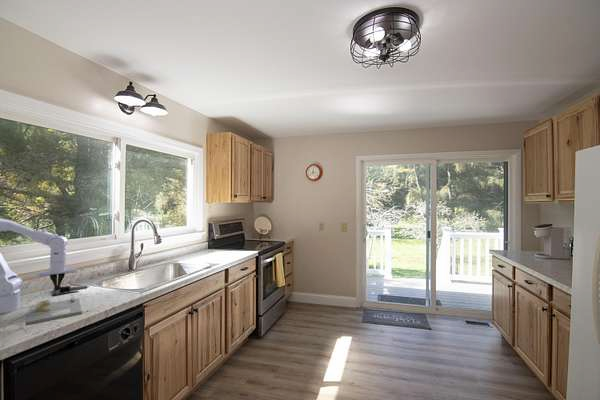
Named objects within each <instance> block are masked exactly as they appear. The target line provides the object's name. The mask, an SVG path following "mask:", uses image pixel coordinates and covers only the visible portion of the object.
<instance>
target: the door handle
mask: <svg viewBox="0 0 600 400" xmlns="http://www.w3.org/2000/svg"><path fill="white" fill-rule="evenodd" d="M52 289H53V291H52V294H50V295H51V297H58V296H64V295H71V294H76V293H79V292H80V291H79V290H84V289H85V290H86V289H88V285H81V286H70V285H68V286H67V285H66V286H61V285H60V287H59V290H55V286H54V287H53V288H52Z"/></svg>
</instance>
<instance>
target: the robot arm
mask: <svg viewBox="0 0 600 400" xmlns="http://www.w3.org/2000/svg"><path fill="white" fill-rule="evenodd" d="M3 231H5V232H6V231H10V232H14V233H17V234H20V235H22V236H27V237H30V239H31V241H33V242H36V243H39V244H42V245H45V246H48V247H49V249H50V253H49V256H50V257H49V270H46V271H45V270H44V271H38V272H37V271H36V272H37V273H36V278H40V277H49V279H50V280H51V281H52V283H53V286H54V287H55V290H59V287H60V286H61V284H62V282H63V279H64V278H65V276H66V274H77V273H78V268H76V267H75V268H74V267H73V268H66V263H67V260H66V259H67V245H68V243H69V240H68V238H67V237H66V236H64V235H59V234H57V233H52V232H50V231H47V229H45V228H43V229H41V228H40V229H37V230H36V229H33V228H30V227H27V226H25V225H24V224H23V225H22V224H20V223H18V222H15V221H13V220H10V219H8V218H7V219H6V218H4V217H0V233H2V232H3ZM23 285H24V280H23V278H21V277H20V276H18V275H17V273H16V272H14V271H12V269H11V268H10V267H9V265H8V263H7V261H6V260H5V258H4V256H3V255H2V252H1V251H0V315H1V314H7V313H11V312H15V311H18V310H19V309H20V308H21V289H20V288H22V286H23Z"/></svg>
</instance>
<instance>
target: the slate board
mask: <svg viewBox="0 0 600 400" xmlns="http://www.w3.org/2000/svg"><path fill="white" fill-rule="evenodd" d="M81 306H82V305H81V303H80V298H79V297H76V298H75V296H71V298H70V299H65V300H59V301H54V302H52V301H51V310H48V311H43V312H37V313H36V304H35V305H30V306H29V308H28V312H27V317H26V319H25V326H26V327H27V326H32V325H37V324H41V323H42V324H43V323H47V322H51V321H55V320H61V319H66V318H72V317H75V316H77V317H78V316H80V315H82V313H83V310H82V307H81ZM66 309H70V311H69V312H63V313H58V314H54V315H52V312H56V311H61V310H66Z"/></svg>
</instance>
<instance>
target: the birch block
mask: <svg viewBox="0 0 600 400" xmlns="http://www.w3.org/2000/svg"><path fill="white" fill-rule="evenodd" d="M51 303H52V299H45V300H40V301H36V302H35V305H36V313H37V312H43V311H48V310H51Z"/></svg>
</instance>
